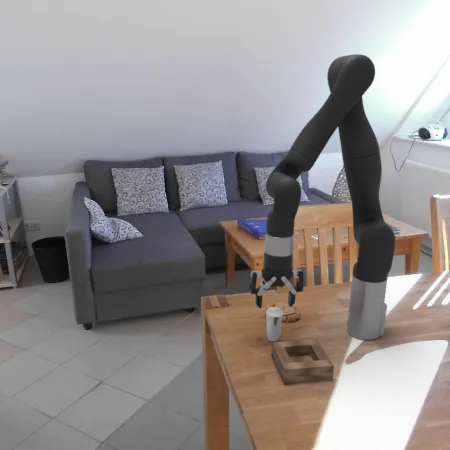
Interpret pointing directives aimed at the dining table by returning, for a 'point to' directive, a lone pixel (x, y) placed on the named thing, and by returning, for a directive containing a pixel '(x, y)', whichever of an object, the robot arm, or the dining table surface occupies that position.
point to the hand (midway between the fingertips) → (274, 306)
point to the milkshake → (274, 323)
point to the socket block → (301, 361)
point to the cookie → (287, 312)
